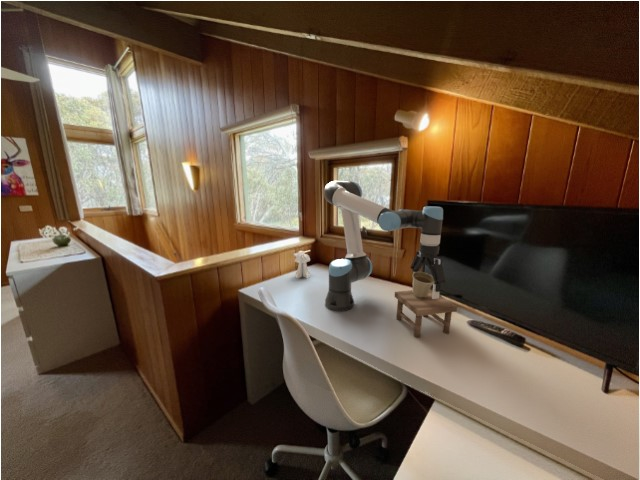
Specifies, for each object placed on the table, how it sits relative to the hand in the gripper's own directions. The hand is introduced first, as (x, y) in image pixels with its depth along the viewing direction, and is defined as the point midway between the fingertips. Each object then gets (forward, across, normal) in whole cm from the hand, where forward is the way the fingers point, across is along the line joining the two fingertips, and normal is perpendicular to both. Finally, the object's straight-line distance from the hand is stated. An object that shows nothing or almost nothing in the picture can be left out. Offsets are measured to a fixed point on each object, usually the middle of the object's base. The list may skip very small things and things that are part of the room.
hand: (424, 291), depth 106 cm
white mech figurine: (+17, +74, +42) cm, 87 cm away
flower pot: (+3, +3, 0) cm, 4 cm away
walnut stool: (+16, 0, 0) cm, 16 cm away
